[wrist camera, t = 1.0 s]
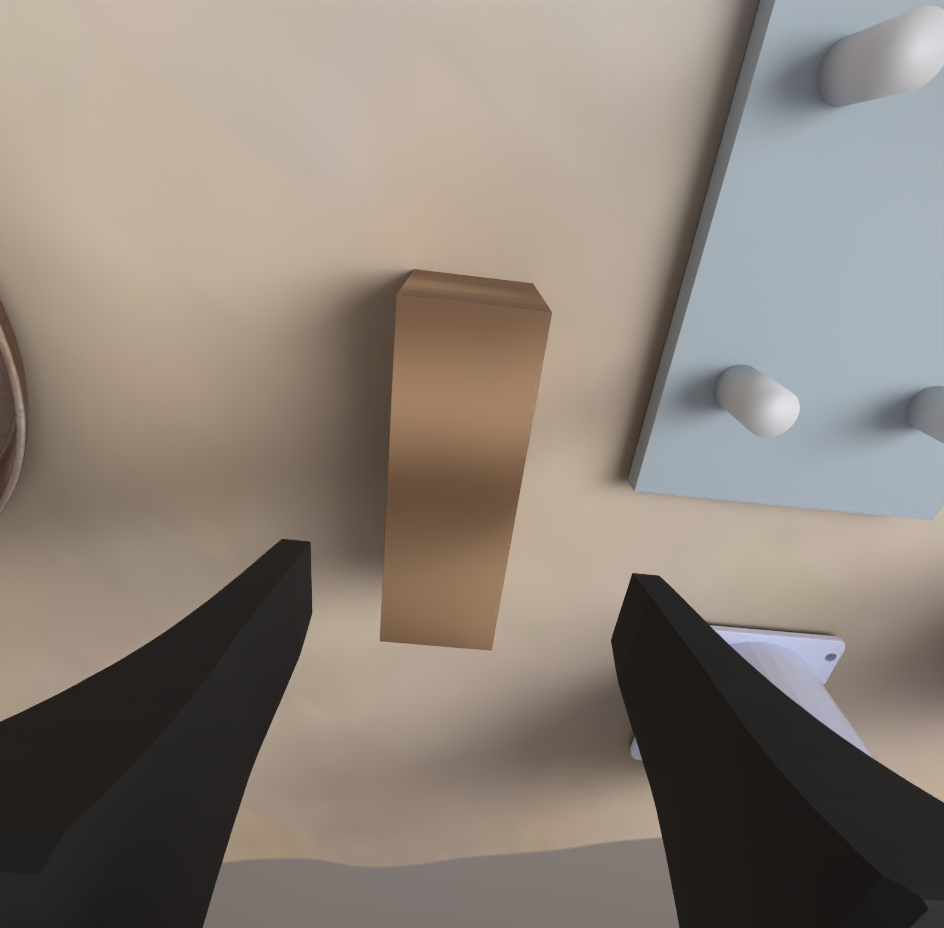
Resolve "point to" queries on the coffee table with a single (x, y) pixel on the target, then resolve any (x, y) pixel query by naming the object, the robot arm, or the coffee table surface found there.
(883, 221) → the peg board
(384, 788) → the coffee table surface
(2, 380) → the plant saucer
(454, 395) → the walnut bar
